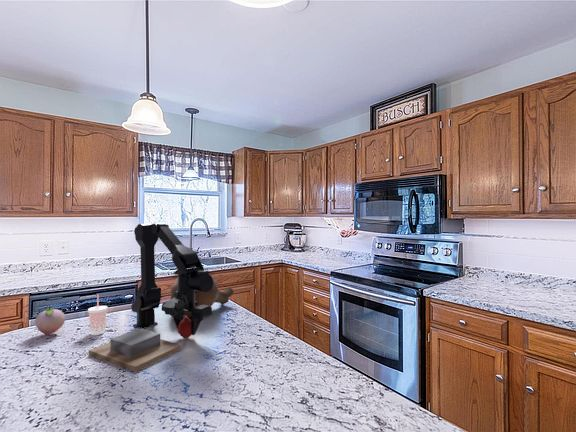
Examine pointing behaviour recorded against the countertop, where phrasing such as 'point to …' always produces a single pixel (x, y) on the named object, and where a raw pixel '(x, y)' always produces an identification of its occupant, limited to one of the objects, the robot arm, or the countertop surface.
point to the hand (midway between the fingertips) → (186, 332)
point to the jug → (206, 296)
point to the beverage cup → (97, 318)
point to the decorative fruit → (50, 321)
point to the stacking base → (137, 359)
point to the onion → (185, 328)
